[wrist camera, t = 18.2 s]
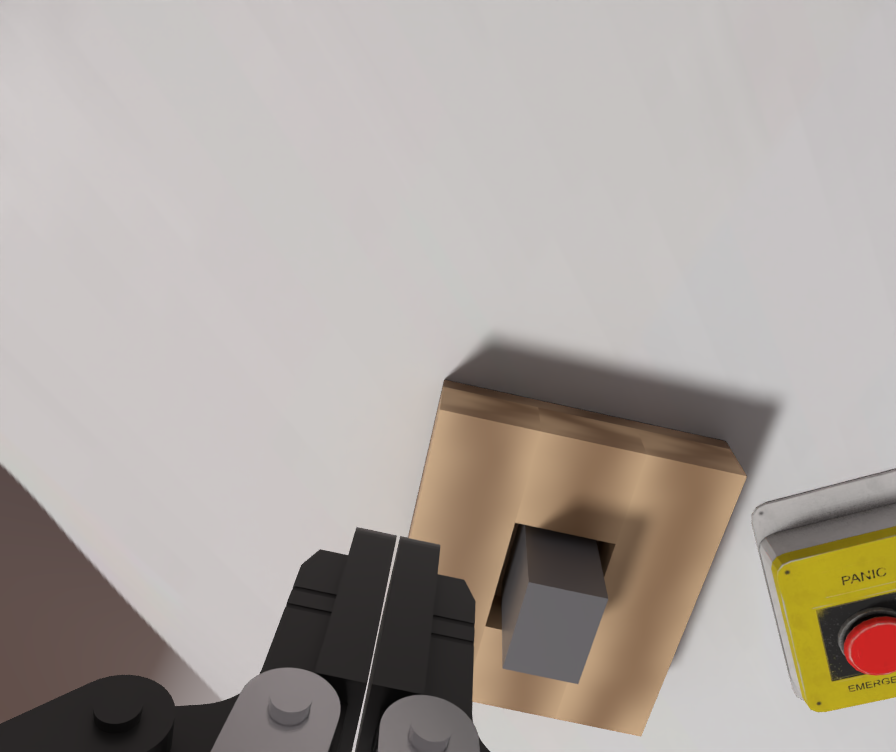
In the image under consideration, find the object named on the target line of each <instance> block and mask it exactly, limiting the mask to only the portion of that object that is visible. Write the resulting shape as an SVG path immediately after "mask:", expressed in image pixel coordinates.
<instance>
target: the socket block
mask: <svg viewBox="0 0 896 752" xmlns="http://www.w3.org/2000/svg"><path fill="white" fill-rule="evenodd" d="M746 478H747V475H746V474H745V472H744V471H743V469H742V467H741V466H740V464H739V462H738V461H737V459H736V457H735V456H734V454H733V452H732V451H731V449H730V447H729V446H728V444H727V442H726V441H723V440H718V439H714V438H709V437H704V436H700V435H695V434H691V433H686V432H682V431H677V430H672V429H668V428H663V427H659V426H654V425H650V424H645V423H640V422H636V421H631V420H627V419H622V418H618V417H613V416H608V415H604V414H599V413H595V412H590V411H585V410H581V409H576V408H572V407H567V406H563V405H558V404H553V403H549V402H544V401H540V400H535V399H531V398H526V397H521V396H517V395H512V394H508V393H503V392H499V391H494V390H489V389H485V388H480V387H476V386H471V385H467V384H462V383H457V382H453V381H448V380H444V383H443V387H442V392H441V396H440V400H439V405H438V409H437V413H436V418H435V422H434V426H433V431H432V435H431V440H430V444H429V448H428V453H427V457H426V461H425V466H424V470H423V474H422V479H421V483H420V487H419V492H418V496H417V500H416V505H415V509H414V514H413V518H412V522H411V527H410V531H409V535H408V538H411V539H416V540H420V541H425V542H430V543H435V544H439V545H440V556H439V566H438V574H440V575H444V576H449V577H454V578H459V579H463V580H465V582H466V584H467V586H468V588H469V589H470V591H471V593H472V595H473V597H474V599H475V601H476V606H475V625H474V628H475V636H474V667H473V697H472V702H477V703H482V704H486V705H491V706H496V707H501V708H506V709H511V710H515V711H520V712H525V713H530V714H535V715H540V716H545V717H549V718H554V719H559V720H564V721H569V722H574V723H578V724H583V725H588V726H593V727H598V728H603V729H607V730H612V731H617V732H622V733H627V734H632V735H636V736H641V735H642V733H643V730H644V728H645V725H646V723H647V721H648V718H649V716H650V713H651V711H652V708H653V706H654V703H655V701H656V698H657V696H658V694H659V691H660V689H661V686H662V684H663V681H664V679H665V676H666V674H667V671H668V669H669V667H670V664H671V662H672V659H673V657H674V654H675V652H676V649H677V647H678V644H679V642H680V640H681V637H682V635H683V632H684V630H685V627H686V625H687V622H688V620H689V617H690V615H691V613H692V610H693V608H694V605H695V603H696V600H697V598H698V595H699V593H700V590H701V588H702V586H703V583H704V581H705V578H706V576H707V573H708V571H709V568H710V566H711V563H712V561H713V559H714V556H715V554H716V551H717V549H718V546H719V544H720V541H721V539H722V536H723V534H724V532H725V529H726V527H727V524H728V522H729V519H730V517H731V514H732V512H733V509H734V507H735V505H736V502H737V500H738V497H739V495H740V492H741V490H742V487H743V485H744V482H745V480H746ZM519 524H524V525H529V526H533V527H538V528H543V529H547V530H552V531H557V532H561V533H566V534H571V535H575V536H580V537H585V538H589V539H594V540H596V542H597V547H598V552H599V557H600V561H601V566H602V571H603V575H604V580H605V585H606V590H607V594H608V602H607V604H606V607H605V610H604V613H603V616H602V619H601V621H600V624H599V627H598V630H597V633H596V636H595V638H594V641H593V644H592V647H591V650H590V652H589V655H588V658H587V661H586V664H585V667H584V669H583V672H582V675H581V678H580V681H579V684H574V683H569V682H564V681H560V680H555V679H550V678H545V677H540V676H535V675H531V674H526V673H521V672H516V671H511V670H506V669H502V600H501V584H502V581H503V577H504V574H505V570H506V567H507V563H508V560H509V556H510V553H511V549H512V546H513V543H514V539H515V536H516V532H517V529H518V525H519Z"/></svg>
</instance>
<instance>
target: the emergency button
mask: <svg viewBox="0 0 896 752" xmlns="http://www.w3.org/2000/svg"><path fill="white" fill-rule="evenodd" d="M751 524H752V528H753V532H754V536H755V540H756V544H757V548H758V552H759V556H760V560H761V564H762V569H763V573H764V577H765V581H766V585H767V589H768V593H769V597H770V601H771V605H772V609H773V613H774V617H775V621H776V625H777V629H778V633H779V637H780V641H781V646H782V650H783V654H784V658H785V662H786V666H787V670H788V674H789V678H790V682H791V686H792V689H793V691H794V693H795V695H796V696H797V697H798V698H800V699H802V700H804V701H805V702H806V703H807V705H808V706H809V708H810V709H811V710H813V711H816V712H827V711H832V710H837V709H842V708H846V707H851V706H856V705H861V704H866V703H870V702H875V701H880V700H885V699H890V698H894V697H896V469H894V470H890V471H886V472H882V473H878V474H875V475H871V476H867V477H863V478H859V479H855V480H851V481H847V482H844V483H840V484H836V485H832V486H828V487H824V488H820V489H817V490H813V491H809V492H805V493H801V494H797V495H793V496H789V497H786V498H782V499H778V500H774V501H770V502H766V503H763V504H761V505H760V506H758V507H756V509H755V510H754V512H753V513H752V518H751Z"/></svg>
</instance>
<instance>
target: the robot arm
mask: <svg viewBox="0 0 896 752" xmlns="http://www.w3.org/2000/svg"><path fill="white" fill-rule="evenodd" d="M396 537H397V536H396V535H391V534H387V533H382V532H377V531H373V530H368V529H363V528H358V527H357V528H356V531H355V534H354V538H353V541H352V544H351V548H350V551H349V555H344V554H339V553H335V552H330V551H325V550H321V549H320V550H319V551H318V552H316V553H315V554H314V555H313V556H312V557H310V558H309V559H308V560H307V561H305V562H304V563H303V564H302V565H301V567H300V570H299V572H298V575H297V578H296V580H295V583H294V586H293V590H292V591H291V594H290V596H289V599H288V602H287V605H286V607H285V609H284V612H283V615H282V617H281V620H280V623H279V625H278V628H277V631H276V633H275V636H274V638H273V641H272V644H271V646H270V649H269V652H268V654H267V657H266V660H265V662H264V665H263V668H262V670H261V672H260V674H259V675H257V676H256V677H254V678H253V679H251V680H250V681H249V682H248V683H247V684H246V685H245V686H244V688H243V690H242V691H241V693H240V694H238V695H236V696H234V697H232V698H229V699H227V700H224V701H220V702H216V703H211V704H203V705H188V706H175V705H174V702H173V699H172V697H171V695H170V694H169V693H168V691H167V690H166V689H165V688H164V687H163V686H162V685H160V684H158V683H157V682H155V681H153V680H150V679H148V678H144V677H141V676H134V675H117V676H109V677H106V678H102V679H99V680H96V681H93V682H91V683H89V684H86V685H84V686H83V687H80V688H78V689H75V690H73V691H71V692H69V693H67V694H65V695H62V696H60V697H58V698H56V699H54V700H51V701H49V702H47V703H45V704H43V705H41V706H38V707H36V708H34V709H32V710H30V711H28V712H25V713H23V714H21V715H19V716H17V717H14V718H12V719H10V720H8V721H6V722H3V723H1V724H0V752H352V747H353V743H354V739H355V734H356V730H357V725H358V721H359V716H360V712H361V708H362V703H363V699H364V694H365V690H366V685H367V681H368V676H369V671H370V666H371V661H372V656H373V651H374V646H375V641H376V636H377V631H378V626H379V621H380V616H381V611H382V607H383V602H384V597H385V592H386V587H387V582H388V577H389V572H390V567H391V562H392V557H393V552H394V547H395V542H396ZM439 556H440V545H439V544H435V543H430V542H425V541H420V540H416V539H411V538H406V537H402V536H400V540H399V544H398V548H397V553H396V557H395V562H394V566H393V571H392V575H391V580H390V584H389V588H388V593H387V597H386V602H385V606H384V611H383V615H382V620H381V624H380V629H379V634H378V639H377V644H376V649H375V654H374V659H373V664H372V669H371V674H370V679H369V684H368V689H367V694H366V699H365V704H364V709H363V714H362V719H361V724H360V729H359V734H358V739H357V744H356V749H355V752H490V751H489V750H488V749H487V748H486V746H485V745H484V744H483V743H482V741H481V740H480V738H479V736H478V733H477V730H476V728H475V726H474V724H473V720H472V697H473V667H474V636H475V628H474V625H475V606H476V601H475V599H474V597H473V595H472V593H471V591H470V589H469V588H468V586H467V584H466V582H465V580H463V579H459V578H454V577H449V576H444V575H440V574H438V566H439Z"/></svg>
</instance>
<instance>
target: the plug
mask: <svg viewBox="0 0 896 752" xmlns="http://www.w3.org/2000/svg"><path fill="white" fill-rule="evenodd" d="M501 600H502V669H506V670H511V671H516V672H521V673H526V674H531V675H535V676H540V677H545V678H550V679H555V680H560V681H564V682H569V683H574V684H579V681H580V678H581V675H582V672H583V669H584V667H585V664H586V661H587V658H588V655H589V652H590V650H591V647H592V644H593V641H594V638H595V636H596V633H597V630H598V627H599V624H600V621H601V619H602V616H603V613H604V610H605V607H606V604H607V602H608V594H607V590H606V585H605V580H604V575H603V571H602V566H601V561H600V557H599V552H598V547H597V542H596V540H594V539H589V538H585V537H580V536H575V535H571V534H566V533H561V532H557V531H552V530H547V529H543V528H538V527H533V526H529V525H524V524H519V525H518V529H517V532H516V536H515V539H514V543H513V546H512V549H511V553H510V556H509V560H508V563H507V567H506V570H505V574H504V577H503V581H502V584H501Z"/></svg>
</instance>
